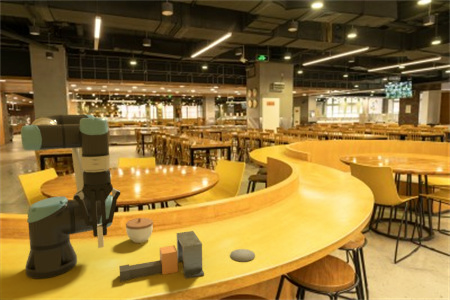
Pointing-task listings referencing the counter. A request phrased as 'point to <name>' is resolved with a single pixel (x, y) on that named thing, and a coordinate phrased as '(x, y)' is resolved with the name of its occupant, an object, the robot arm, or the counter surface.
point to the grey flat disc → (242, 255)
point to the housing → (190, 254)
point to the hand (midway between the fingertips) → (101, 245)
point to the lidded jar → (139, 229)
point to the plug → (152, 265)
